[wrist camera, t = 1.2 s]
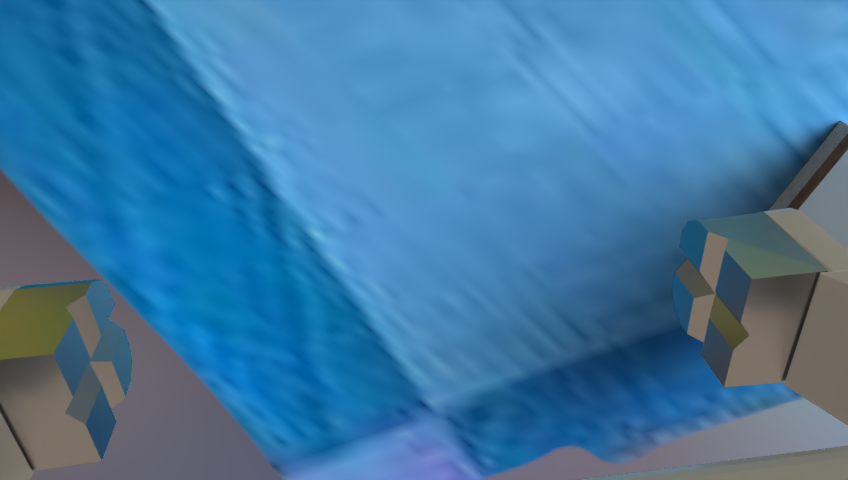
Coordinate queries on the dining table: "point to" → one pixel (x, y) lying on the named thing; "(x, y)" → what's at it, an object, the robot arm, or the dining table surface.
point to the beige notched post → (823, 186)
